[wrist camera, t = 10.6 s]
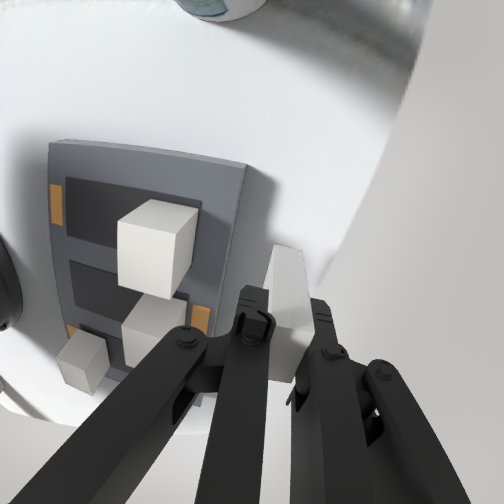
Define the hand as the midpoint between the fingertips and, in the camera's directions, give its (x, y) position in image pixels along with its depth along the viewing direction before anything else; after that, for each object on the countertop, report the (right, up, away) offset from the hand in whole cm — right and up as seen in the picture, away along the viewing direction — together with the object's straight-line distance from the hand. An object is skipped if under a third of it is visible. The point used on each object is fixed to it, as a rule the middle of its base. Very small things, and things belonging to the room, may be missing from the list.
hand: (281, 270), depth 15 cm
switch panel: (-11, -2, +6) cm, 13 cm away
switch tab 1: (-16, -8, +7) cm, 19 cm away
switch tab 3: (-8, -4, +4) cm, 9 cm away
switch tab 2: (-6, +2, +1) cm, 7 cm away
